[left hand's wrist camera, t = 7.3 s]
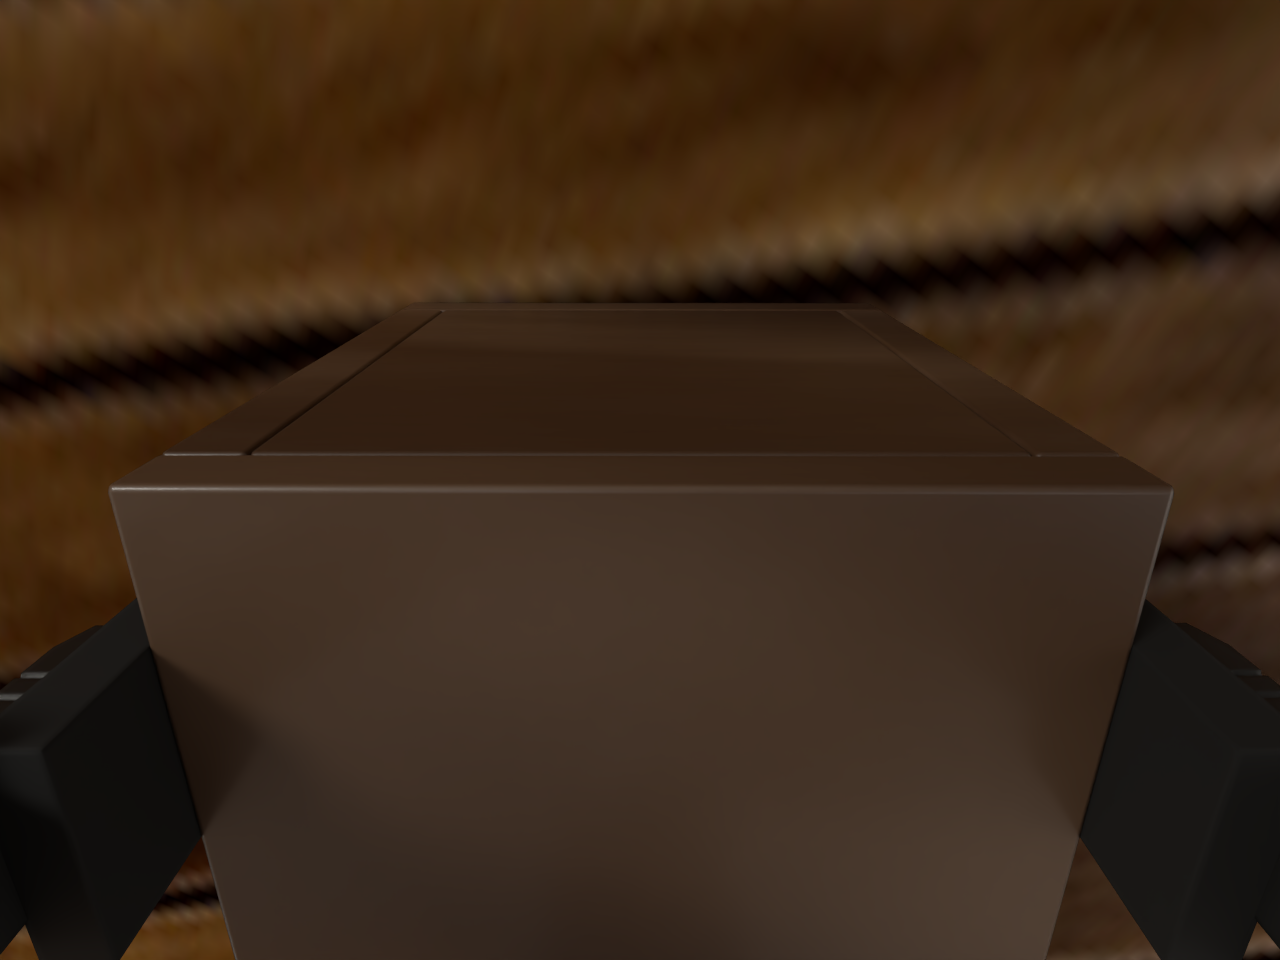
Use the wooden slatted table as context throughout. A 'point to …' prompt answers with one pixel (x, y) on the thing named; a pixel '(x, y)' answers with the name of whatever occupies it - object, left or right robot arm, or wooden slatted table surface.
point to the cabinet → (640, 639)
